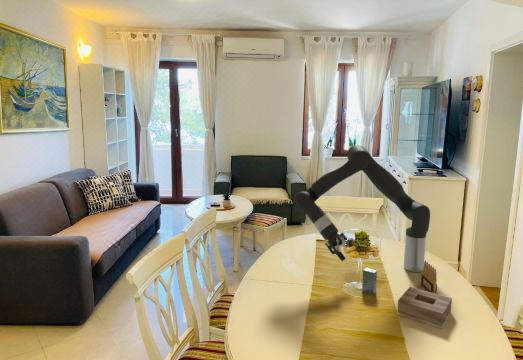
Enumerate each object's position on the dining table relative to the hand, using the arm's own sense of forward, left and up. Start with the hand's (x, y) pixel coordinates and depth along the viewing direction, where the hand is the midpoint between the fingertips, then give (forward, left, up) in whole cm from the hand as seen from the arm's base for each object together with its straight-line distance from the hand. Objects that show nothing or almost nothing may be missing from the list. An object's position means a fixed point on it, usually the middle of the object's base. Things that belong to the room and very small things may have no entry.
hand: (348, 256), depth 170 cm
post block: (+4, +34, -13) cm, 37 cm away
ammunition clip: (-17, +30, -14) cm, 37 cm away
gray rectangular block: (0, +10, -14) cm, 17 cm away
